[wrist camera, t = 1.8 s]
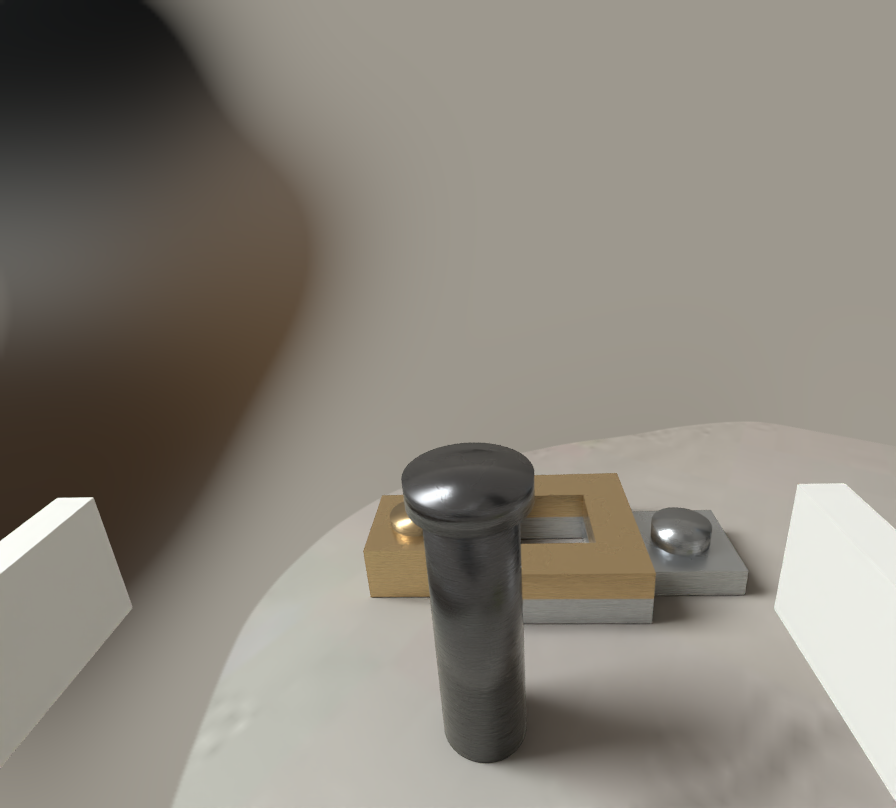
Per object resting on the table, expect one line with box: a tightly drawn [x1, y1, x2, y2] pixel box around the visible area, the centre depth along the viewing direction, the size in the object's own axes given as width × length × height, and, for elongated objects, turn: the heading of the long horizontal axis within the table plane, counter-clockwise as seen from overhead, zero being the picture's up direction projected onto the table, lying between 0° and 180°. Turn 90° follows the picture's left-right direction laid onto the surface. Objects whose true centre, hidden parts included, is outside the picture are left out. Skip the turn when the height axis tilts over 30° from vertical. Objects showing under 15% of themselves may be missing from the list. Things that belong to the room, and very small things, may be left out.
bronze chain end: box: [363, 473, 656, 599], centre depth 38 cm, size 17×11×4 cm, turn 86°
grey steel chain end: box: [520, 508, 748, 624], centre depth 37 cm, size 17×11×3 cm, turn 86°
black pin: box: [402, 443, 535, 763], centre depth 25 cm, size 5×5×14 cm
